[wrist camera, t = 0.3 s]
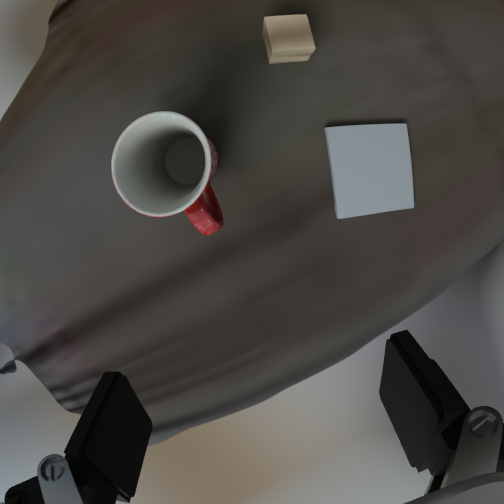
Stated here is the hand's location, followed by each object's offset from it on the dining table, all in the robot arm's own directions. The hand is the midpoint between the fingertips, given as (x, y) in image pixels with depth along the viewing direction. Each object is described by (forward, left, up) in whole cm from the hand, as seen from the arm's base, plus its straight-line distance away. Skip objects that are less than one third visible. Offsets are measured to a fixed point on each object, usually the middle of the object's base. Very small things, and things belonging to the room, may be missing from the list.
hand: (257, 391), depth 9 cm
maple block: (-22, +8, -30) cm, 38 cm away
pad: (-4, +17, -30) cm, 35 cm away
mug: (-7, -6, -30) cm, 31 cm away
